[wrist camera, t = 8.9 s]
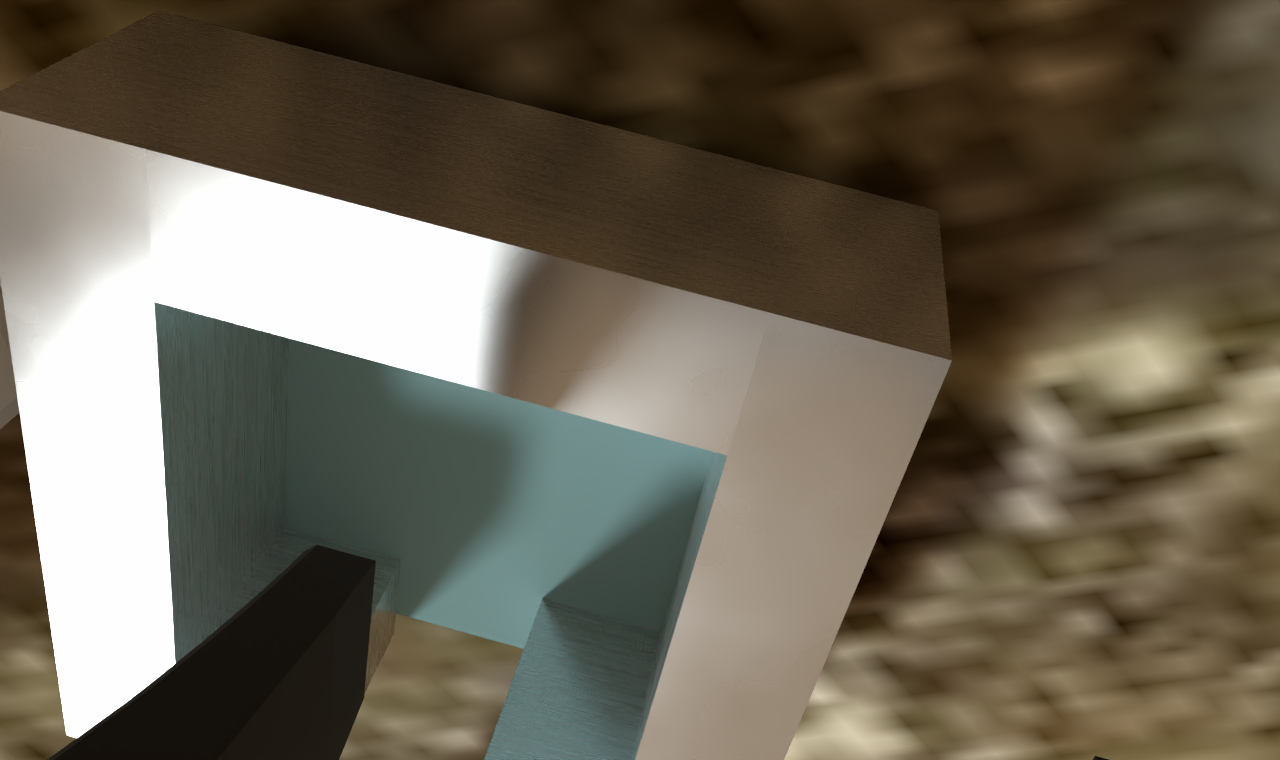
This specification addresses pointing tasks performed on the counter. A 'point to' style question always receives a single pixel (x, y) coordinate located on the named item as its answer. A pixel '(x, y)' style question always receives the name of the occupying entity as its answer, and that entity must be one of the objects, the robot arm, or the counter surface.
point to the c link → (445, 360)
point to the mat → (485, 495)
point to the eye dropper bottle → (6, 373)
